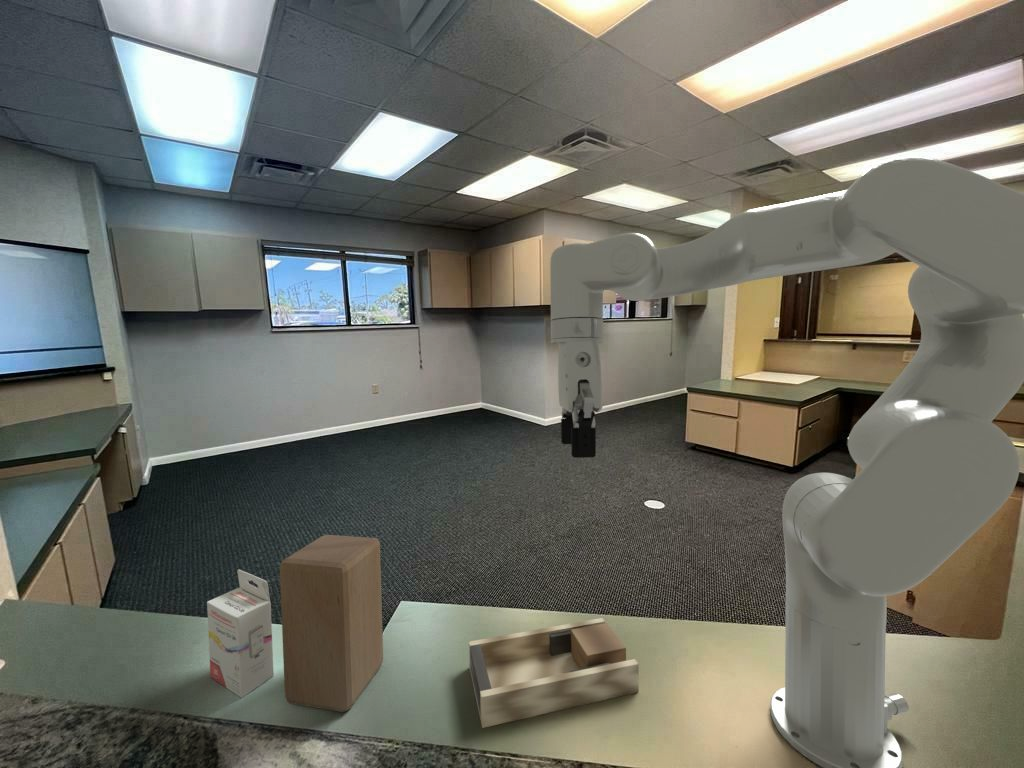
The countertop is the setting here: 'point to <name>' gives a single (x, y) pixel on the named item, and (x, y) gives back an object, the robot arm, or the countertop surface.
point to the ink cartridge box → (241, 636)
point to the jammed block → (596, 646)
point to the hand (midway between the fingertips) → (577, 449)
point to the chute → (541, 675)
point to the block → (331, 621)
